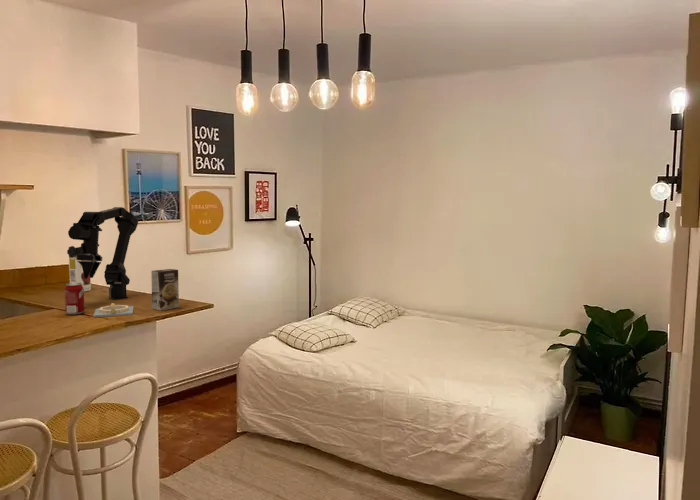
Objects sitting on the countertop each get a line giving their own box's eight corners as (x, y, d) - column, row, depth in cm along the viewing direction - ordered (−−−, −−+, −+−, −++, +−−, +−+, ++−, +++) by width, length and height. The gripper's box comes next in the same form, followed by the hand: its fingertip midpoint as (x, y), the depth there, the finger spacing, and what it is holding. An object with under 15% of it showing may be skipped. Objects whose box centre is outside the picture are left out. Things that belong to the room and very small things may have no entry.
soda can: (76, 315, 205) (75, 285, 204) (61, 314, 207) (60, 284, 206) (88, 312, 212) (87, 282, 211) (73, 311, 213) (72, 282, 212)
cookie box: (160, 310, 215) (159, 271, 214) (151, 308, 219) (150, 270, 218) (179, 307, 222) (178, 269, 221) (170, 305, 226) (169, 268, 225)
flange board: (96, 310, 216) (96, 298, 215) (133, 307, 221) (133, 296, 220) (93, 317, 203) (92, 305, 202) (132, 314, 208) (132, 302, 207)
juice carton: (67, 292, 256) (65, 253, 254) (81, 289, 264) (79, 251, 262) (80, 293, 254) (78, 253, 252) (93, 290, 262) (92, 252, 260)
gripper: (75, 241, 230) (73, 277, 229) (63, 239, 212) (61, 277, 211) (103, 242, 233) (101, 277, 232) (93, 240, 214) (91, 278, 214)
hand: (88, 278), depth 222 cm, fingers open, 9 cm apart
